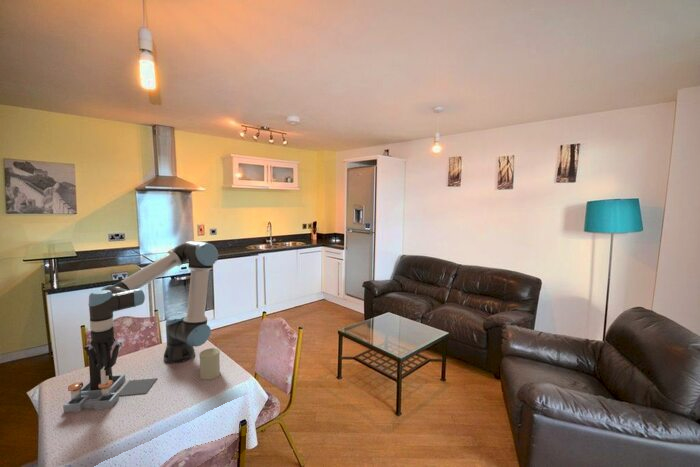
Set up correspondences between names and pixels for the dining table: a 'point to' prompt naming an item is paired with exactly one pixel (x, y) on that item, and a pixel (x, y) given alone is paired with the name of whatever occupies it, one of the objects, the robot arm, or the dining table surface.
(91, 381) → the container
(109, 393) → the plunger
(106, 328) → the robot arm
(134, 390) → the pad
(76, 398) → the plunger
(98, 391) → the filter socket
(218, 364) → the can
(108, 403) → the plunger base
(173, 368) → the dining table surface
